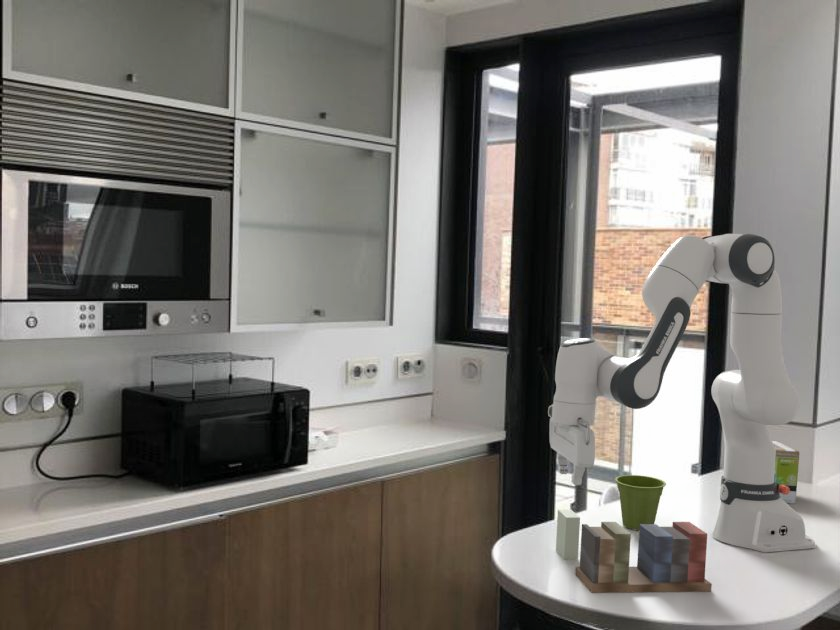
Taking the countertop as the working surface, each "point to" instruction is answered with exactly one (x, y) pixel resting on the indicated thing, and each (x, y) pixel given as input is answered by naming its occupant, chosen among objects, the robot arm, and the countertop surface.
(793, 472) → the tea box
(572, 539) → the pale green box
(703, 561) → the book rack
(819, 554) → the countertop surface
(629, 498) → the plant pot
